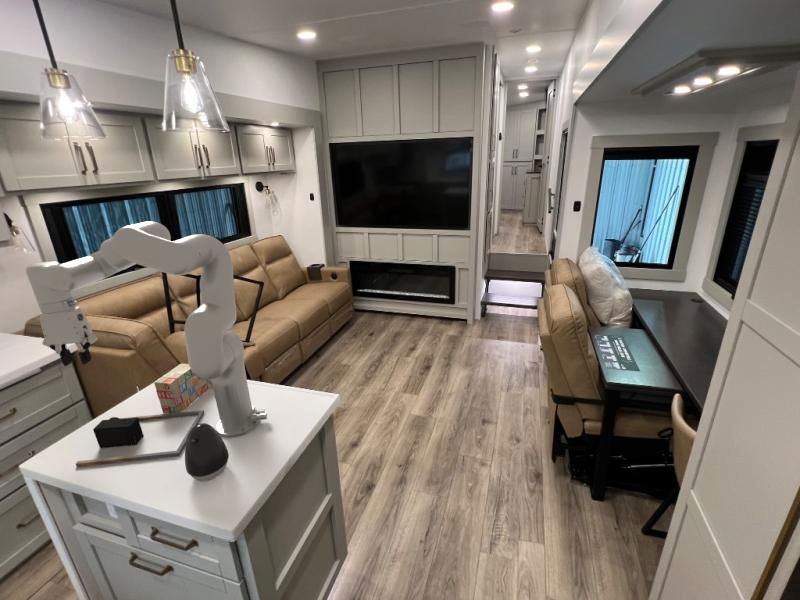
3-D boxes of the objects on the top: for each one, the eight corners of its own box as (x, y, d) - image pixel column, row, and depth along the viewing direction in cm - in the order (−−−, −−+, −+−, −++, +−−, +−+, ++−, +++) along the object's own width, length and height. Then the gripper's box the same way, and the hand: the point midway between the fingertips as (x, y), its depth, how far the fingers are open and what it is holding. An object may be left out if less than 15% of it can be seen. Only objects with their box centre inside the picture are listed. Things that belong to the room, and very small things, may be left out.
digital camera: (146, 433, 118) (140, 414, 116) (136, 445, 113) (130, 426, 110) (111, 436, 117) (104, 417, 115) (99, 448, 112) (92, 428, 110)
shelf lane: (163, 417, 125) (162, 414, 125) (130, 461, 106) (129, 457, 106) (117, 421, 124) (116, 418, 123) (76, 467, 105) (75, 463, 105)
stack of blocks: (205, 379, 147) (198, 351, 143) (219, 380, 146) (213, 352, 142) (162, 413, 128) (153, 381, 123) (178, 415, 126) (169, 383, 122)
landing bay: (204, 413, 127) (204, 410, 126) (179, 456, 108) (178, 452, 107) (163, 417, 125) (162, 414, 125) (130, 461, 106) (129, 457, 106)
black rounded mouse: (181, 490, 96) (167, 441, 91) (198, 460, 106) (187, 414, 101) (223, 486, 97) (211, 438, 92) (236, 457, 107) (226, 411, 102)
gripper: (98, 299, 112) (115, 354, 118) (35, 303, 110) (56, 359, 116) (81, 308, 105) (100, 366, 111) (14, 312, 103) (37, 371, 109)
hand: (77, 362), depth 113 cm, fingers open, 4 cm apart
